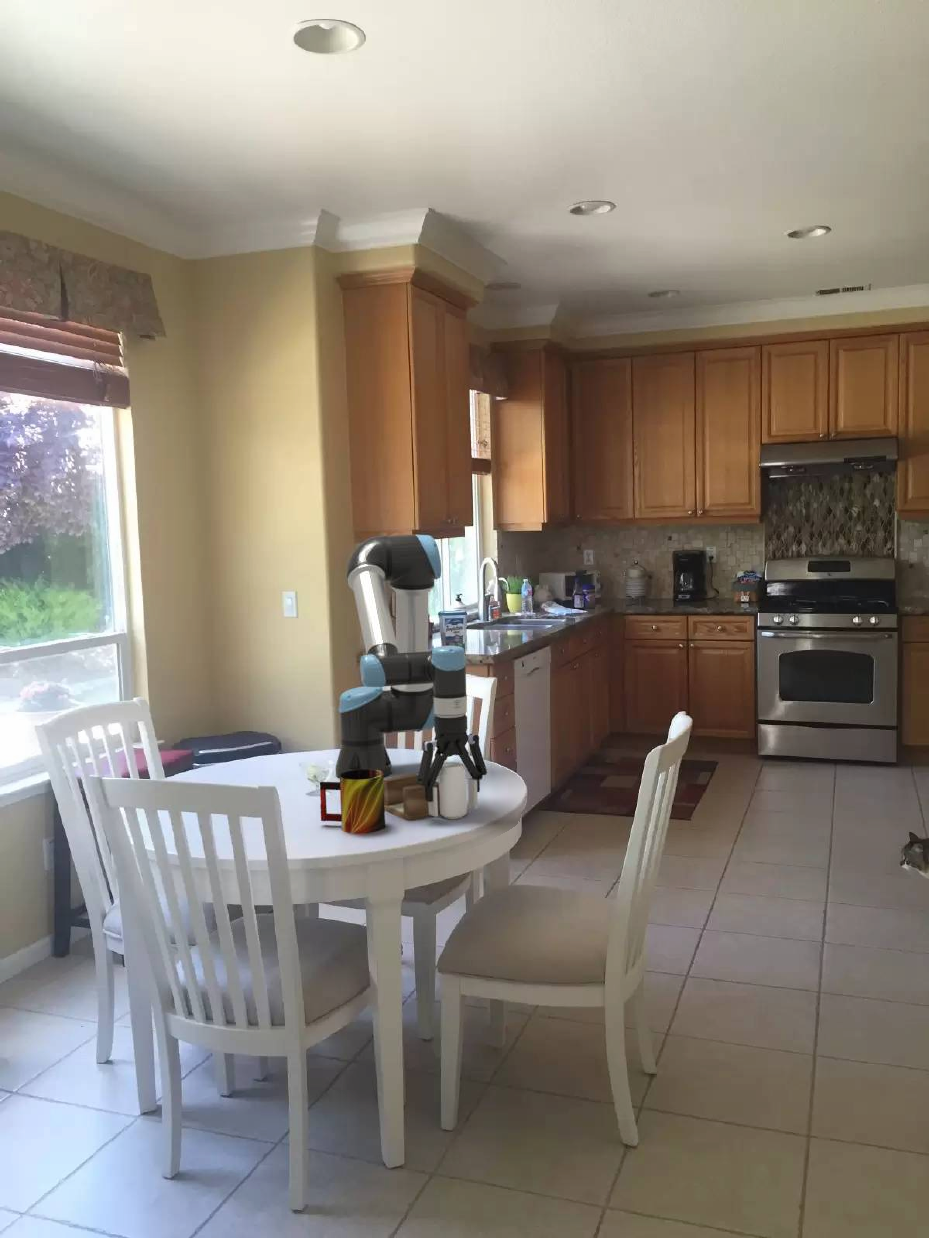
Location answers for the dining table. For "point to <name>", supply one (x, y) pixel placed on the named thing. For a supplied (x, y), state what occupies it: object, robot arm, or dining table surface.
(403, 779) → the post bracket
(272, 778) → the dining table surface
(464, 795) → the beverage can
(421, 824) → the dining table surface
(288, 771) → the dining table surface
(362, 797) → the mug
